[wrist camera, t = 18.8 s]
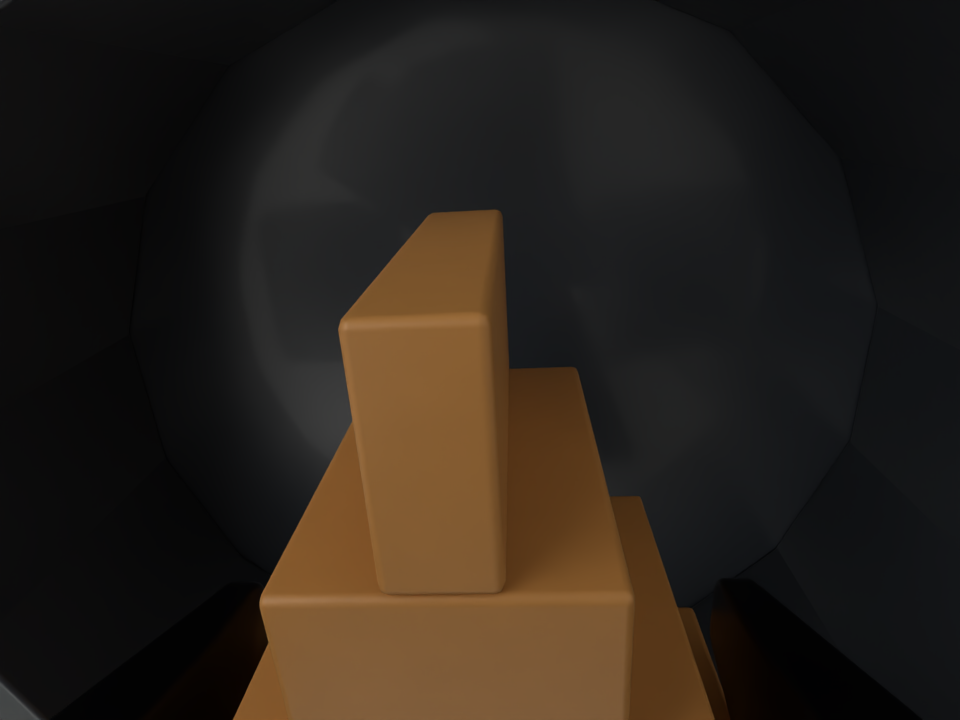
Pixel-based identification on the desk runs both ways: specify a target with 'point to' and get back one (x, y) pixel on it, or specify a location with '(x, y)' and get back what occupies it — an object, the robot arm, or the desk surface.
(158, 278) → the pan
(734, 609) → the robot arm
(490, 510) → the tan stepped block
